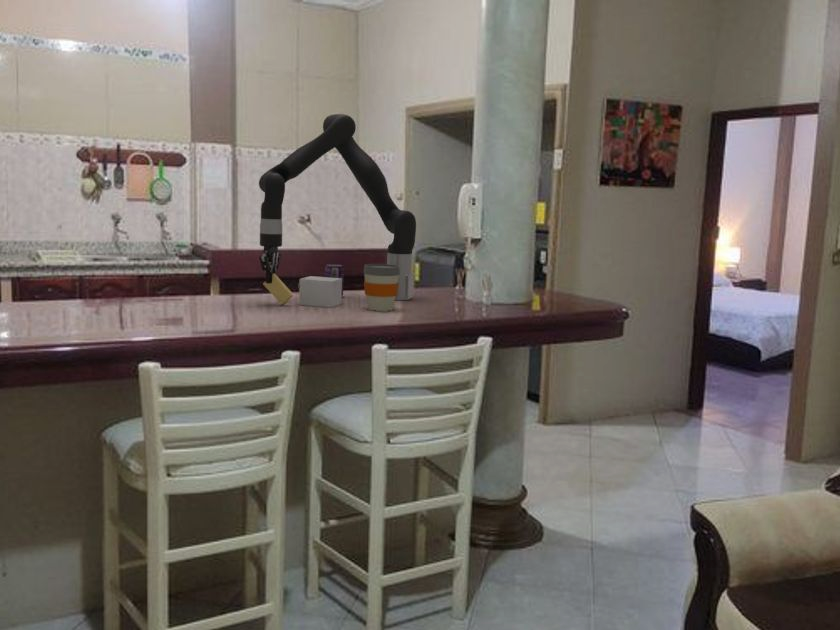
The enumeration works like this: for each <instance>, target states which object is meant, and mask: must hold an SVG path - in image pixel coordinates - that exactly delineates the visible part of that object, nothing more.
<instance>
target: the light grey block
mask: <svg viewBox="0 0 840 630" xmlns="http://www.w3.org/2000/svg"><path fill="white" fill-rule="evenodd" d="M297 288H298V291H299V292H298V295H299V296H298V305H300V306H310V307H311V306H312V307H321V308H322V307H324V308H334V307H337V306H338V305H341V304H342V297H343V296H342V278H329V277H325V276H314V275H313V276H312V275H309V276H305V277H302V278H299V283H297Z"/></svg>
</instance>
